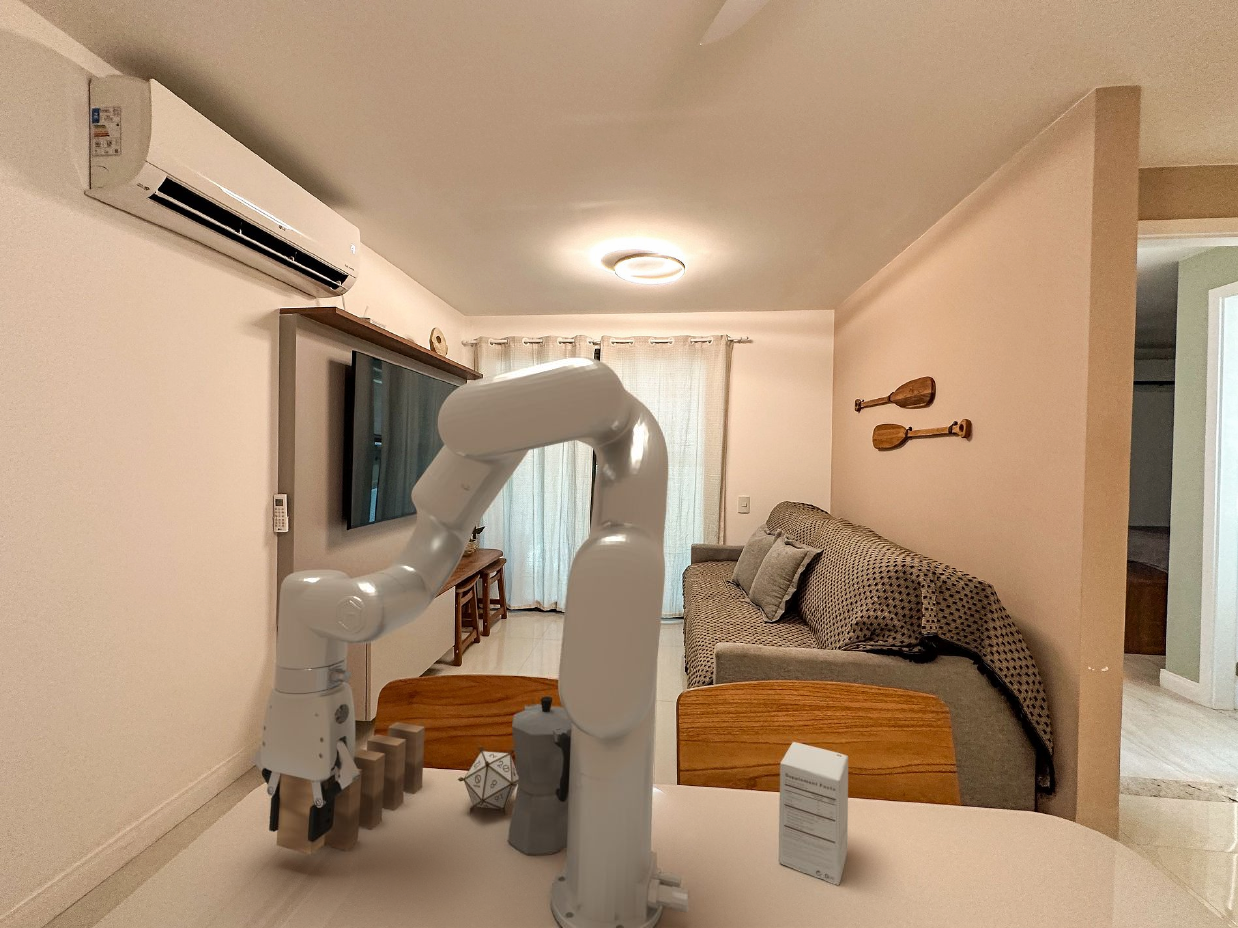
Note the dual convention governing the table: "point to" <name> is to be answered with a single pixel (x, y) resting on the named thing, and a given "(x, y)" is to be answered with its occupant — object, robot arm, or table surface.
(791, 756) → the supplement box
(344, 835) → the domino
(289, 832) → the domino
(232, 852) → the table surface
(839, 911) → the table surface
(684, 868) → the table surface
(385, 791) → the domino
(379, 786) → the domino
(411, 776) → the domino
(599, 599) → the robot arm
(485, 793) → the game die
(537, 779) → the coffeepot
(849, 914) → the table surface
